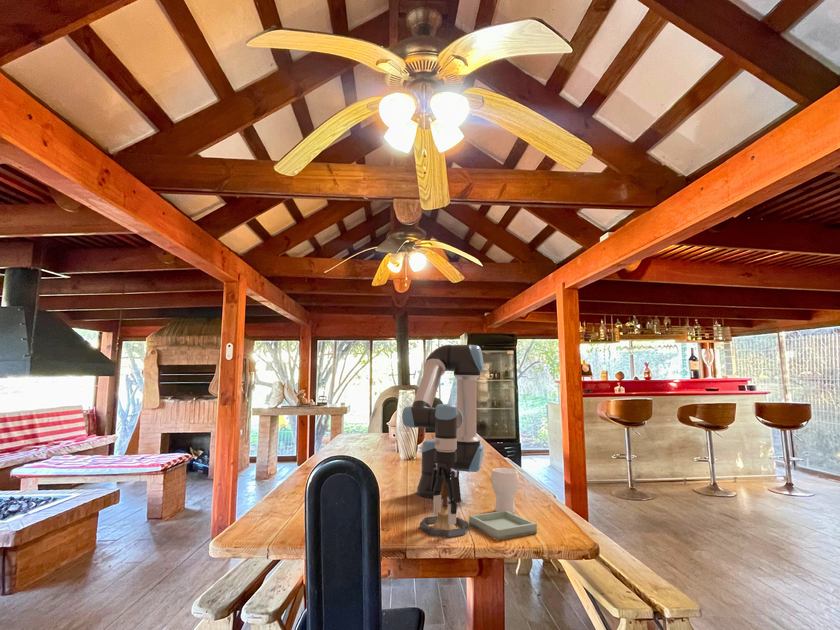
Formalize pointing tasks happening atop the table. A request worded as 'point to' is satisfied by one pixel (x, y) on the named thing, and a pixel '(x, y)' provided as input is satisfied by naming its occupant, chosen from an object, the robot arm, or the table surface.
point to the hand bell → (443, 513)
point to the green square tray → (502, 524)
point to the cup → (505, 488)
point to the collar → (443, 532)
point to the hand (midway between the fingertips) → (444, 519)
